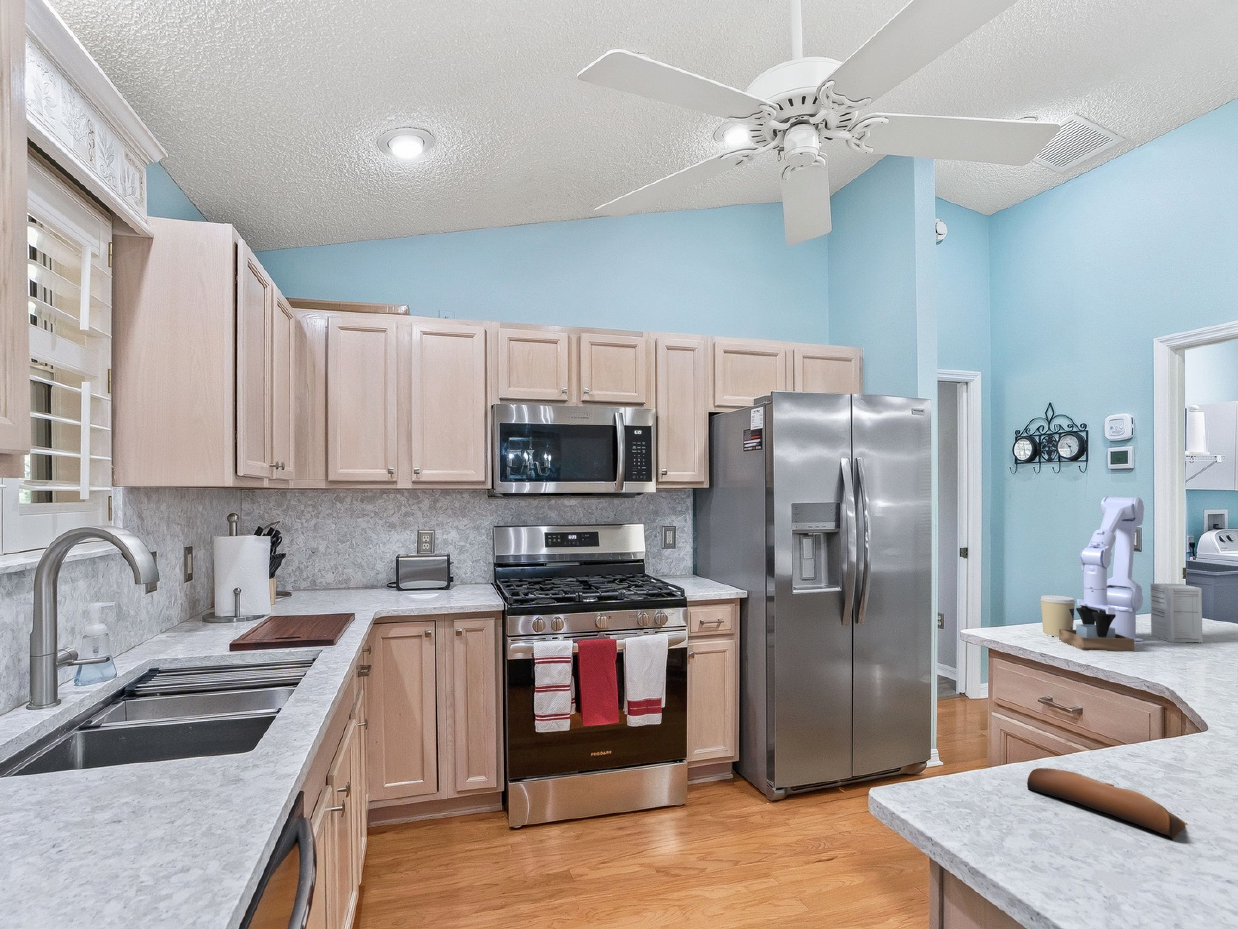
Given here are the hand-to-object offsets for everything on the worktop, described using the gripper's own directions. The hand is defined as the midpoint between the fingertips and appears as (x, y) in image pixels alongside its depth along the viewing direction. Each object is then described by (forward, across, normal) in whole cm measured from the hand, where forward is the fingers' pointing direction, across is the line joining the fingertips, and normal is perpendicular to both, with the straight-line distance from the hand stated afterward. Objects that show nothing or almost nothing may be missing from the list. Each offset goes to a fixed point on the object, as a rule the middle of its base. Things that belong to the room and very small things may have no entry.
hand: (1095, 634), depth 202 cm
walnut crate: (+3, 0, 0) cm, 3 cm away
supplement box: (+4, -13, +32) cm, 35 cm away
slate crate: (+3, 0, 0) cm, 3 cm away
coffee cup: (+4, -14, -3) cm, 15 cm away
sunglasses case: (+4, +107, -64) cm, 125 cm away
